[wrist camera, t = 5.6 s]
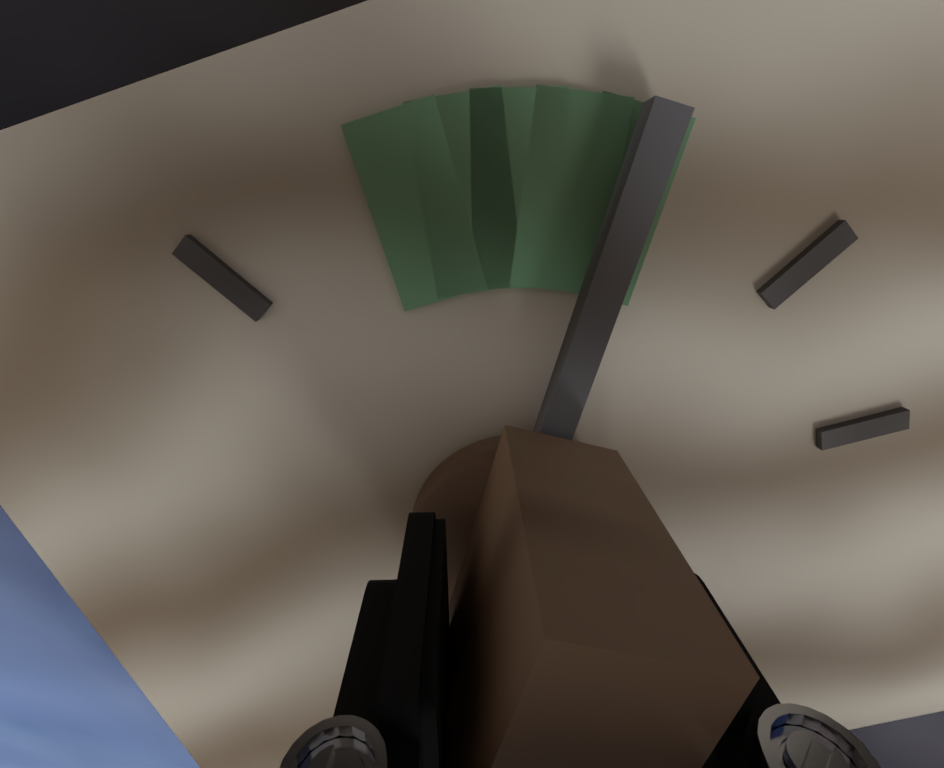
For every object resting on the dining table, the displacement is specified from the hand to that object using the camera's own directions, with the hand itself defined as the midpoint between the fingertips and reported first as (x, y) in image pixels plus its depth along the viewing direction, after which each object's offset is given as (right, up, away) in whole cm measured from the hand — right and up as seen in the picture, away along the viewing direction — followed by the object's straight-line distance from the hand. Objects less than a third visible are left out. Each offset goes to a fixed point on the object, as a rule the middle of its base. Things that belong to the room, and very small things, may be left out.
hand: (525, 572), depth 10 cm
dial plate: (0, +1, +4) cm, 4 cm away
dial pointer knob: (+1, +3, +1) cm, 3 cm away
